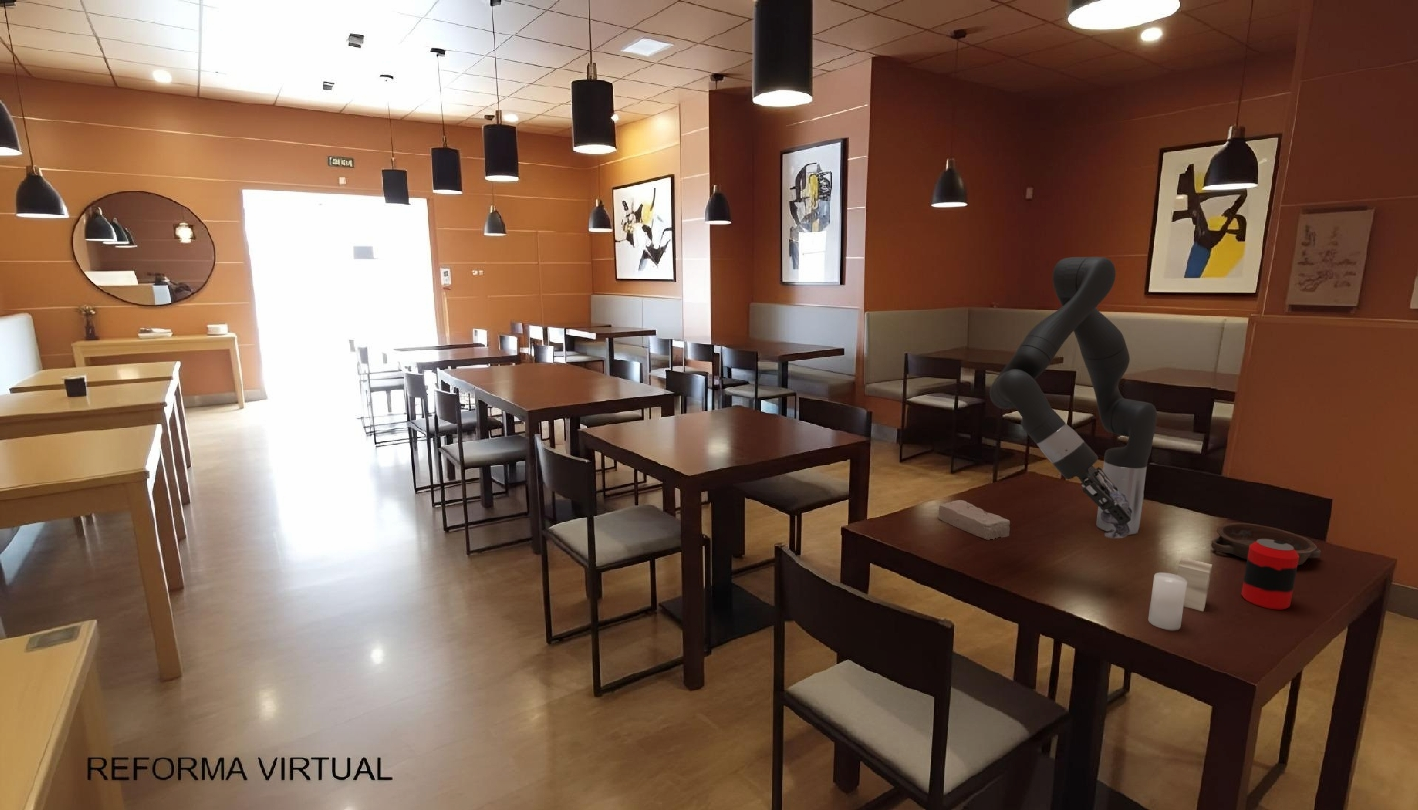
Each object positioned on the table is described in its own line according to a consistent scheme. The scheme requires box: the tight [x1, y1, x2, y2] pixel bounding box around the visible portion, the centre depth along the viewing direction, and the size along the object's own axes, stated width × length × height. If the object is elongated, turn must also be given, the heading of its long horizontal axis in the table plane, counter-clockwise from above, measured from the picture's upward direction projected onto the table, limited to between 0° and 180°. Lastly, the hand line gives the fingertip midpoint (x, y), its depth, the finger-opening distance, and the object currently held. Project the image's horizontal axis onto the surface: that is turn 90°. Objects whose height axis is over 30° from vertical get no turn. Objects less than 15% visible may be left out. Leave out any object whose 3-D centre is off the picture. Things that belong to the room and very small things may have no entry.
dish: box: [1210, 522, 1322, 566], centre depth 157 cm, size 18×22×5 cm
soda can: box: [1241, 539, 1299, 611], centre depth 134 cm, size 8×8×12 cm
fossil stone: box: [1101, 491, 1131, 539], centre depth 137 cm, size 5×5×10 cm
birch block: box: [1176, 557, 1213, 612], centre depth 134 cm, size 5×5×8 cm
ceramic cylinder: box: [1147, 572, 1187, 631], centre depth 126 cm, size 5×5×9 cm
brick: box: [938, 499, 1011, 541], centre depth 173 cm, size 17×8×5 cm, turn 27°
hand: (1127, 518), depth 136 cm, fingers closed on fossil stone, 4 cm apart
